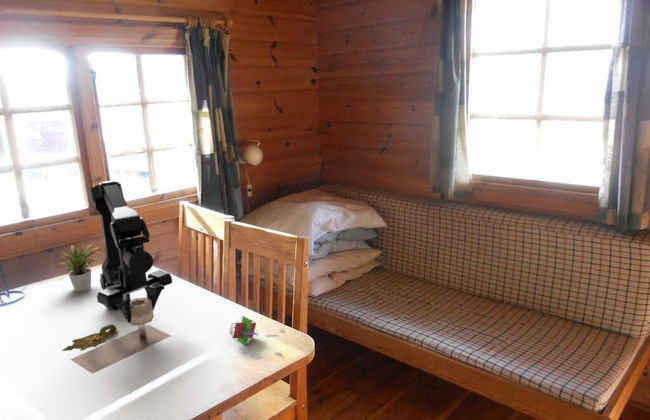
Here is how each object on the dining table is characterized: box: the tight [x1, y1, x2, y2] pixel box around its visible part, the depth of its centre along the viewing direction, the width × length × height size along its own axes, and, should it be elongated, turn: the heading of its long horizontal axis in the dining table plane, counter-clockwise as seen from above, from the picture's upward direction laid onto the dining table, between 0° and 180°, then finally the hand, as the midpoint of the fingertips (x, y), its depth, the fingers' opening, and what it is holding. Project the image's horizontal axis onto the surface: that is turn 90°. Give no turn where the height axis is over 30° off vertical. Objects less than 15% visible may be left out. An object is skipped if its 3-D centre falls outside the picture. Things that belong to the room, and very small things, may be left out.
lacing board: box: [70, 324, 172, 374], centre depth 130 cm, size 22×11×1 cm, turn 142°
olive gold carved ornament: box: [61, 323, 119, 352], centre depth 133 cm, size 9×5×15 cm
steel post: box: [137, 324, 147, 339], centre depth 134 cm, size 2×2×7 cm
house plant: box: [58, 242, 101, 293], centre depth 169 cm, size 14×14×16 cm
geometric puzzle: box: [229, 315, 259, 347], centre depth 132 cm, size 7×7×8 cm
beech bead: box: [126, 296, 155, 327], centre depth 132 cm, size 6×6×5 cm
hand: (140, 317), depth 133 cm, fingers closed on beech bead, 6 cm apart
